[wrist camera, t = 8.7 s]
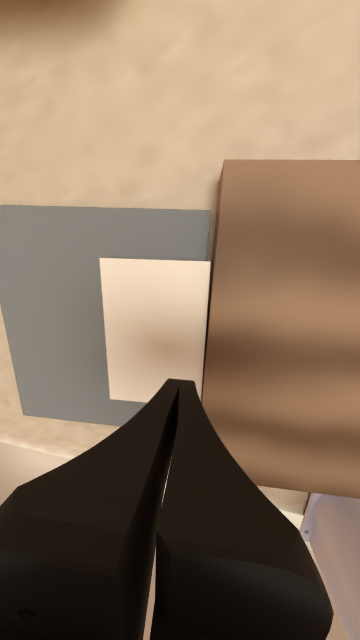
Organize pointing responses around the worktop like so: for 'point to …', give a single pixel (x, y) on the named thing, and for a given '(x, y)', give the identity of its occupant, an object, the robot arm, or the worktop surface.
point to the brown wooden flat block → (287, 323)
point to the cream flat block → (153, 323)
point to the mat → (77, 297)
